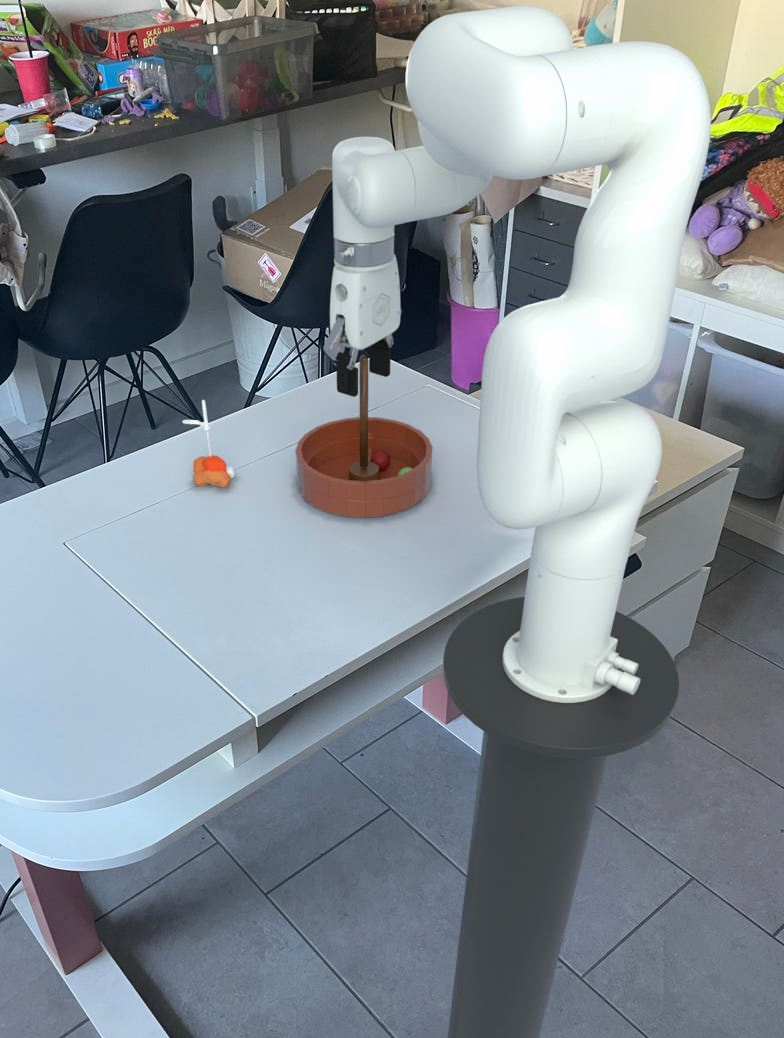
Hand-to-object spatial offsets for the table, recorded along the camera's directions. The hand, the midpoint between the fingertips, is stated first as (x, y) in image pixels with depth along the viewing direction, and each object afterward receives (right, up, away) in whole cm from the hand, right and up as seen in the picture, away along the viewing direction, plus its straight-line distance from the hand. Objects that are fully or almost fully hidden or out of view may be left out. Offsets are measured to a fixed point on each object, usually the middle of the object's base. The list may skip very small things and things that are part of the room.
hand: (363, 382), depth 129 cm
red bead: (+3, -9, +11) cm, 15 cm away
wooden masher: (+1, -12, +10) cm, 15 cm away
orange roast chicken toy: (-22, -11, +14) cm, 28 cm away
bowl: (+1, -12, +10) cm, 16 cm away
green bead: (+7, -12, +7) cm, 15 cm away
